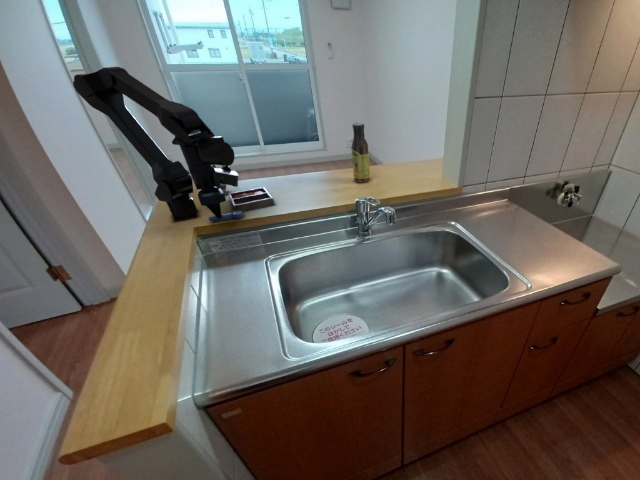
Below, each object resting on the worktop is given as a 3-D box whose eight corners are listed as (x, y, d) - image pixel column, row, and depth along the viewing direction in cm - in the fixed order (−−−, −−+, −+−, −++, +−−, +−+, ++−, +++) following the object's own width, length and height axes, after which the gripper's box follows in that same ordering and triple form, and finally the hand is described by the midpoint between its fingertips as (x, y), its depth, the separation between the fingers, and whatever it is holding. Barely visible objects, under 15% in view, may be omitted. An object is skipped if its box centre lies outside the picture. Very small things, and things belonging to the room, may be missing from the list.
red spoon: (235, 202, 108) (234, 197, 107) (234, 199, 110) (232, 194, 109) (264, 196, 112) (263, 192, 111) (263, 193, 114) (261, 189, 113)
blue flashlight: (210, 224, 96) (208, 219, 95) (209, 220, 98) (207, 215, 97) (244, 217, 100) (242, 212, 99) (242, 213, 102) (240, 208, 101)
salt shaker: (217, 198, 112) (203, 162, 105) (208, 194, 115) (194, 159, 108) (233, 193, 116) (221, 158, 108) (224, 189, 119) (212, 155, 111)
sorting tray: (236, 213, 103) (233, 205, 101) (230, 200, 111) (227, 193, 109) (274, 205, 108) (272, 198, 106) (266, 193, 116) (264, 186, 114)
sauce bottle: (352, 178, 127) (347, 122, 115) (368, 177, 129) (364, 120, 116) (356, 184, 122) (350, 125, 110) (372, 182, 124) (368, 124, 111)
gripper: (236, 166, 84) (253, 222, 94) (225, 150, 97) (242, 201, 107) (188, 174, 80) (211, 231, 90) (183, 156, 93) (205, 208, 102)
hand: (219, 216), depth 97 cm, fingers closed on blue flashlight, 1 cm apart
